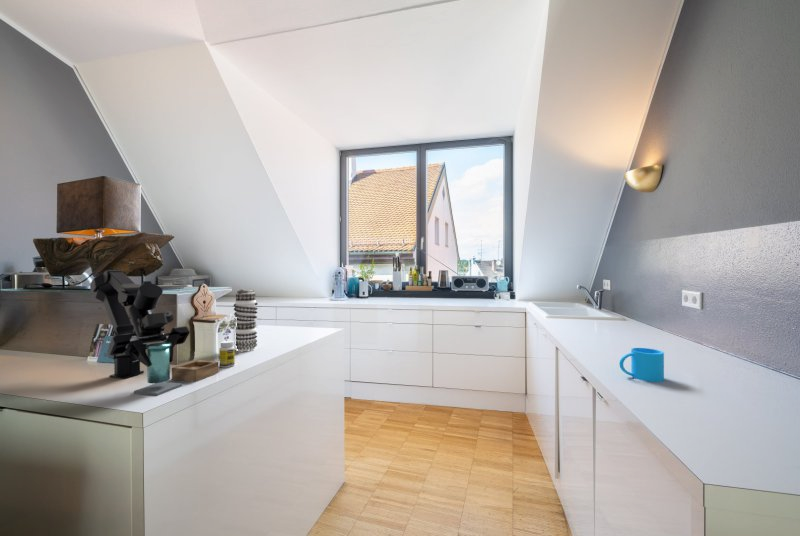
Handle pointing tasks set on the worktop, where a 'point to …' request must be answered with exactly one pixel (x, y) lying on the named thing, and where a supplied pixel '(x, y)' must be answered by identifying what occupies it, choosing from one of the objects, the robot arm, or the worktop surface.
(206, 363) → the wooden tray
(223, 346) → the supplement bottle
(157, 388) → the mat
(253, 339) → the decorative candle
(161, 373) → the teal glass jar
